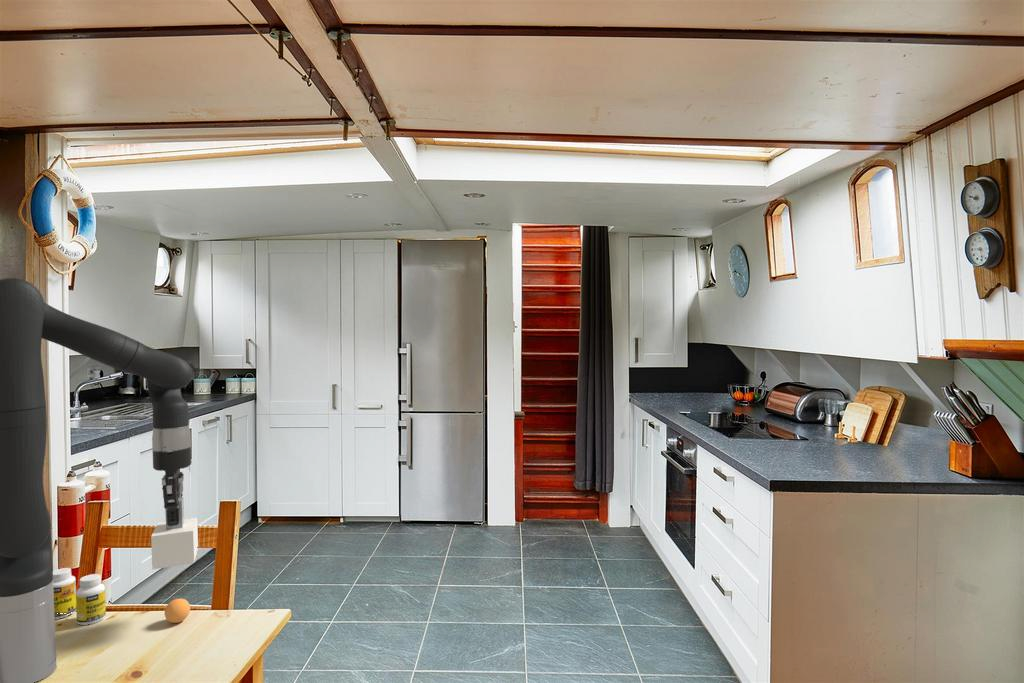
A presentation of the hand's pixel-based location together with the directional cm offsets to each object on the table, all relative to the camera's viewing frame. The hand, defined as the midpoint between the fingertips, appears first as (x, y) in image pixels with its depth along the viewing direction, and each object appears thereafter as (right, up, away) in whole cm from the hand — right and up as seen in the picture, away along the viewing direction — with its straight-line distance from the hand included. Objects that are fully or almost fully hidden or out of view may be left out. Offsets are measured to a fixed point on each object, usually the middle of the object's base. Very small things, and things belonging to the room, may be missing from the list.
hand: (174, 522), depth 135 cm
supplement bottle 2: (-19, -23, +1) cm, 30 cm away
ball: (+1, -20, -1) cm, 20 cm away
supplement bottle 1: (-28, -23, +4) cm, 36 cm away
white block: (0, -8, 0) cm, 8 cm away
